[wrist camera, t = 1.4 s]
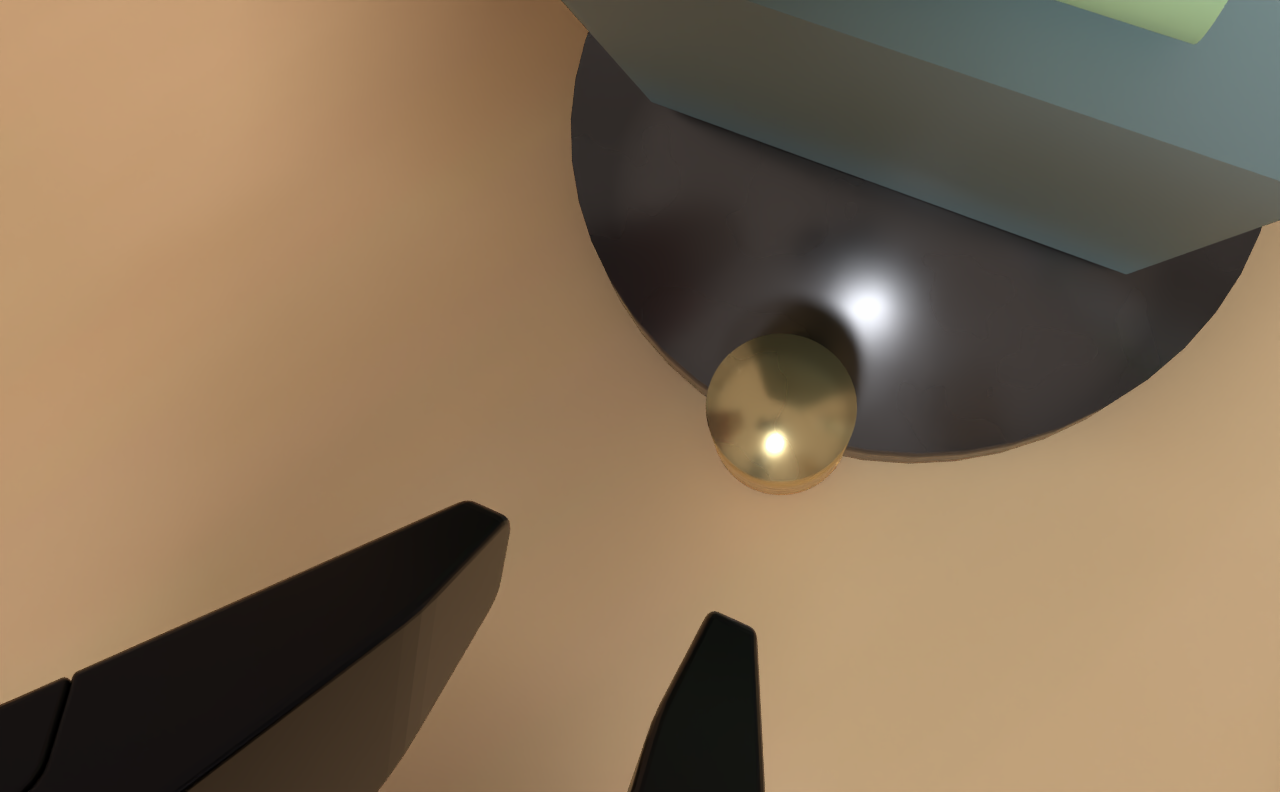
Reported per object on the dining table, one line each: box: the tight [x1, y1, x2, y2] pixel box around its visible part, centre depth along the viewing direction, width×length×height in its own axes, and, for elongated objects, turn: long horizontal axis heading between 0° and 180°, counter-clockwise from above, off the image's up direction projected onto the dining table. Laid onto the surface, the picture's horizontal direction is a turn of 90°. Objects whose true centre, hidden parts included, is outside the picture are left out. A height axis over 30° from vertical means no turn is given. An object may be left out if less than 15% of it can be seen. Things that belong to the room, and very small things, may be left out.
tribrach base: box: [571, 32, 1262, 495], centre depth 23 cm, size 15×15×2 cm
